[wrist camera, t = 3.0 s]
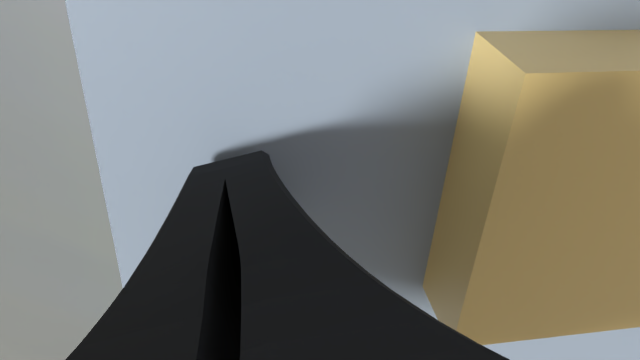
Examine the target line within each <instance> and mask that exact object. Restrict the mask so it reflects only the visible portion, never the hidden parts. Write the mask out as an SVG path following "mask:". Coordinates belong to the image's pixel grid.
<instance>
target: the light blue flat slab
mask: <svg viewBox="0 0 640 360" xmlns="http://www.w3.org/2000/svg"><path fill="white" fill-rule="evenodd" d="M65 3H66V8H67V13H68V18H69V23H70V28H71V33H72V38H73V43H74V48H75V53H76V57H77V62H78V67H79V72H80V77H81V82H82V87H83V92H84V97H85V102H86V107H87V112H88V117H89V122H90V127H91V132H92V137H93V142H94V147H95V152H96V157H97V162H98V167H99V172H100V177H101V182H102V186H103V191H104V196H105V201H106V206H107V211H108V216H109V221H110V226H111V231H112V236H113V241H114V246H115V251H116V256H117V261H118V266H119V271H120V276H121V281H122V286H123V288H124V286H125V285H126V283H127V282H128V280H129V278H130V277H131V275H132V274H133V272H134V271H135V269H136V268H137V266H138V265H139V263H140V262H141V260H142V258H143V257H144V255H145V254H146V252H147V251H148V249H149V247H150V246H151V244H152V242H153V240H154V239H155V237H156V235H157V233H158V232H159V230H160V228H161V226H162V225H163V223H164V221H165V219H166V217H167V216H168V214H169V212H170V210H171V208H172V206H173V204H174V202H175V201H176V199H177V197H178V195H179V193H180V191H181V189H182V187H183V185H184V183H185V181H186V179H187V177H188V175H189V173H190V172H191V170H192V169H193V167H196V166H200V165H204V164H208V163H212V162H216V161H220V160H224V159H228V158H232V157H236V156H240V155H244V154H249V153H253V152H257V151H261V150H262V151H264V152H265V153H267V154H269V156H270V160H271V163H272V165H273V167H274V169H275V171H276V173H277V174H278V176H279V178H280V179H281V181H282V182H283V184H284V185H285V187H286V188H287V190H288V191H289V192H290V194H291V195H292V196H293V197H294V199H295V200H296V201H297V202H298V204H299V205H300V206H301V207H302V208H303V210H304V211H305V212H306V213H307V214H308V216H309V217H310V218H311V219H312V220H313V221H314V222H315V223H316V224H317V225H318V226H319V227H320V228H321V229H322V230H323V231H324V233H325V234H326V235H327V236H328V237H329V238H330V239H331V240H332V241H333V242H335V243H336V244H337V245H338V246H339V247H340V248H341V249H342V250H343V251H344V252H345V253H346V254H348V255H349V256H350V257H351V258H352V259H353V260H355V261H356V262H357V263H358V264H359V265H361V266H362V267H363V268H364V269H365V270H367V271H368V272H369V273H370V274H372V275H373V276H374V277H376V278H377V279H378V280H380V281H381V282H382V283H383V284H385V285H386V286H387V287H389V288H390V289H391V290H393V291H394V292H396V293H397V294H399V295H400V296H402V297H404V298H405V299H407V300H408V301H410V302H411V303H413V304H414V305H416V306H417V307H419V308H420V309H422V310H423V311H425V312H426V313H428V314H429V315H431V316H432V317H434V318H435V319H437V317H436V315H435V313H434V311H433V308H432V306H431V304H430V302H429V300H428V297H427V295H426V293H425V291H424V289H423V281H424V276H425V272H426V267H427V262H428V257H429V253H430V248H431V243H432V238H433V233H434V229H435V224H436V219H437V214H438V210H439V205H440V200H441V195H442V190H443V186H444V181H445V176H446V171H447V167H448V162H449V157H450V152H451V147H452V143H453V138H454V133H455V128H456V124H457V119H458V114H459V109H460V104H461V100H462V95H463V90H464V85H465V80H466V76H467V71H468V66H469V61H470V57H471V52H472V47H473V42H474V37H475V33H476V32H477V31H568V30H640V0H65ZM437 320H438V319H437ZM483 346H484V347H486V348H488V349H490V350H492V351H494V352H496V353H498V354H500V355H502V356H504V357H506V358H508V359H510V360H640V327H636V328H628V329H619V330H610V331H602V332H593V333H584V334H576V335H567V336H558V337H550V338H541V339H532V340H524V341H515V342H506V343H497V344H489V345H483Z"/></svg>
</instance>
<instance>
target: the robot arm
mask: <svg viewBox="0 0 640 360" xmlns="http://www.w3.org/2000/svg"><path fill="white" fill-rule="evenodd" d="M66 360H510V359H508V358H506V357H504V356H502V355H500V354H498V353H496V352H494V351H492V350H490V349H488V348H486V347H484V346H483V345H481V344H479V343H477V342H475V341H473V340H472V339H470V338H468V337H466V336H465V335H463V334H461V333H459V332H458V331H456V330H454V329H452V328H451V327H449V326H447V325H445V324H444V323H442V322H440V321H439V320H437V319H435V318H434V317H432V316H431V315H429V314H428V313H426V312H425V311H423V310H422V309H420V308H419V307H417V306H416V305H414V304H413V303H411V302H410V301H408V300H407V299H405V298H404V297H402V296H400V295H399V294H397V293H396V292H394V291H393V290H391V289H390V288H389V287H387V286H386V285H385V284H383V283H382V282H381V281H380V280H378V279H377V278H376V277H374V276H373V275H372V274H370V273H369V272H368V271H367V270H365V269H364V268H363V267H362V266H361V265H359V264H358V263H357V262H356V261H355V260H353V259H352V258H351V257H350V256H349V255H348V254H346V253H345V252H344V251H343V250H342V249H341V248H340V247H339V246H338V245H337V244H336V243H335V242H333V241H332V240H331V239H330V238H329V237H328V236H327V235H326V234H325V233H324V231H323V230H322V229H321V228H320V227H319V226H318V225H317V224H316V223H315V222H314V221H313V220H312V219H311V218H310V217H309V216H308V214H307V213H306V212H305V211H304V210H303V208H302V207H301V206H300V205H299V204H298V202H297V201H296V200H295V199H294V197H293V196H292V195H291V194H290V192H289V191H288V190H287V188H286V187H285V185H284V184H283V182H282V181H281V179H280V178H279V176H278V174H277V173H276V171H275V169H274V167H273V165H272V163H271V160H270V156H269V154H267V153H265V152H264V151H262V150H261V151H257V152H253V153H249V154H244V155H240V156H236V157H232V158H228V159H224V160H220V161H216V162H212V163H208V164H204V165H200V166H196V167H193V169H192V170H191V172H190V173H189V175H188V177H187V179H186V181H185V183H184V185H183V187H182V189H181V191H180V193H179V195H178V197H177V199H176V201H175V202H174V204H173V206H172V208H171V210H170V212H169V214H168V216H167V217H166V219H165V221H164V223H163V225H162V226H161V228H160V230H159V232H158V233H157V235H156V237H155V239H154V240H153V242H152V244H151V246H150V247H149V249H148V251H147V252H146V254H145V255H144V257H143V258H142V260H141V262H140V263H139V265H138V266H137V268H136V269H135V271H134V272H133V274H132V275H131V277H130V278H129V280H128V282H127V283H126V285H125V286H124V288H123V289H122V291H121V292H120V293H119V295H118V296H117V298H116V299H115V300H114V302H113V303H112V304H111V306H110V307H109V308H108V310H107V311H106V312H105V313H104V315H103V316H102V317H101V318H100V320H99V321H98V322H97V323H96V325H95V326H94V327H93V328H92V330H91V331H90V332H89V333H88V335H87V336H86V337H85V338H84V339H83V341H82V342H81V343H80V344H79V345H78V347H77V348H76V349H75V350H74V351H73V352H72V353H71V354H70V355H69V356H68V357H67V359H66Z"/></svg>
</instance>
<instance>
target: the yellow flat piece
mask: <svg viewBox="0 0 640 360" xmlns="http://www.w3.org/2000/svg"><path fill="white" fill-rule="evenodd" d="M423 289H424V291H425V293H426V295H427V297H428V300H429V302H430V304H431V306H432V308H433V311H434V313H435V315H436V317H437V319H438V320H439V321H440V322H442V323H444V324H445V325H447V326H449V327H451V328H452V329H454V330H456V331H458V332H459V333H461V334H463V335H465V336H466V337H468V338H470V339H472V340H473V341H475V342H477V343H479V344H481V345H489V344H497V343H506V342H515V341H524V340H532V339H541V338H550V337H558V336H567V335H576V334H584V333H593V332H602V331H610V330H619V329H628V328H636V327H640V30H568V31H477V32H476V33H475V37H474V42H473V47H472V52H471V57H470V61H469V66H468V71H467V76H466V80H465V85H464V90H463V95H462V100H461V104H460V109H459V114H458V119H457V124H456V128H455V133H454V138H453V143H452V147H451V152H450V157H449V162H448V167H447V171H446V176H445V181H444V186H443V190H442V195H441V200H440V205H439V210H438V214H437V219H436V224H435V229H434V233H433V238H432V243H431V248H430V253H429V257H428V262H427V267H426V272H425V276H424V281H423Z"/></svg>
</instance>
